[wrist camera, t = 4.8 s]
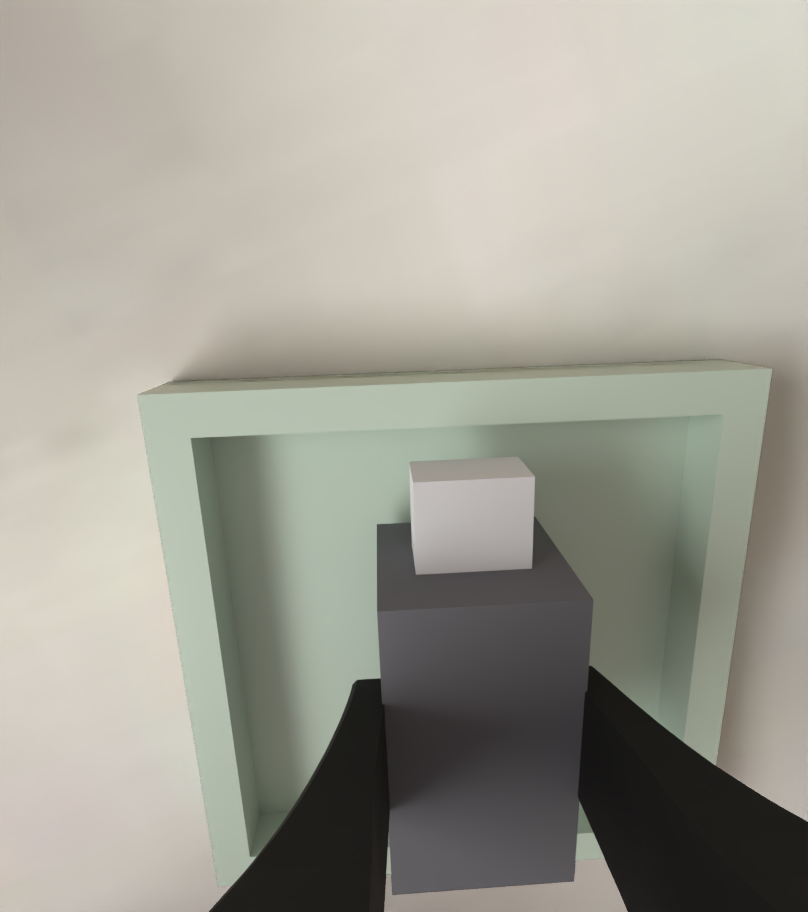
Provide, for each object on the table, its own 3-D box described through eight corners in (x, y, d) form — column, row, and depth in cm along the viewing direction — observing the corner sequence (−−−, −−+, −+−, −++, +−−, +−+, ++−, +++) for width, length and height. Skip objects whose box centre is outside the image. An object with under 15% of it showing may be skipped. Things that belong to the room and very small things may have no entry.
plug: (527, 741, 16) (573, 881, 12) (388, 750, 16) (392, 894, 12) (537, 439, 14) (600, 498, 10) (372, 447, 14) (371, 509, 10)
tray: (669, 793, 18) (703, 851, 16) (235, 823, 18) (217, 886, 16) (719, 359, 15) (772, 368, 13) (169, 381, 14) (137, 394, 12)
